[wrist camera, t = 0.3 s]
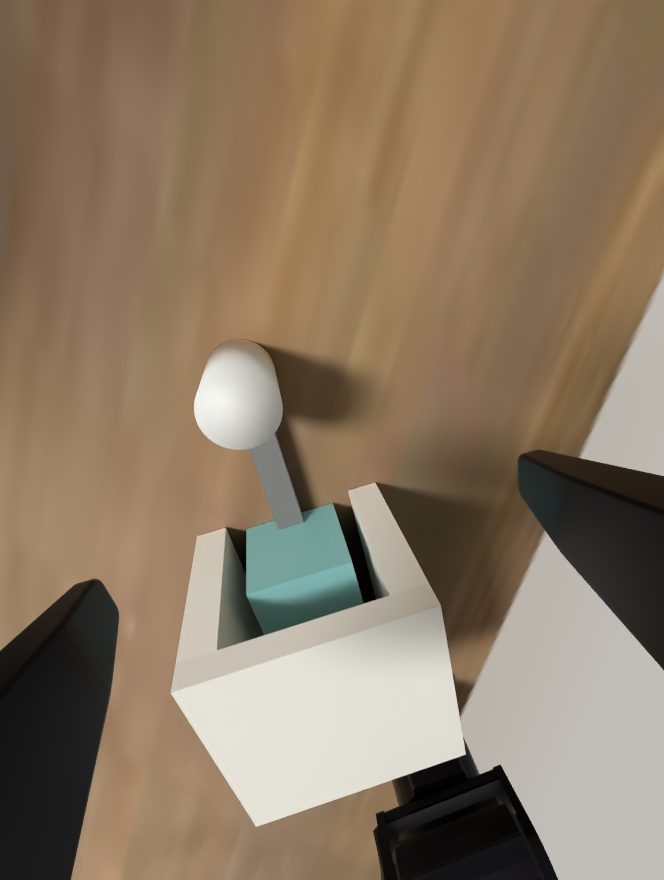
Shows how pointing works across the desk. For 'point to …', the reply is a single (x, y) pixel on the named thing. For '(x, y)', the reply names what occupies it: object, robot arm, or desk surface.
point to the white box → (318, 678)
